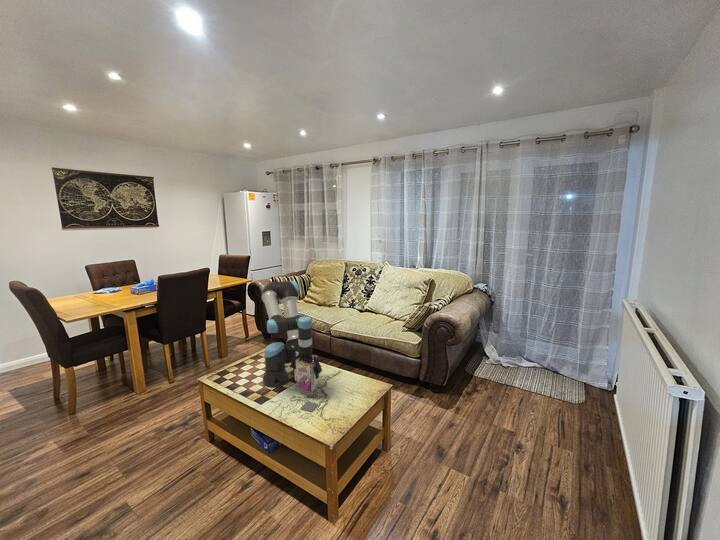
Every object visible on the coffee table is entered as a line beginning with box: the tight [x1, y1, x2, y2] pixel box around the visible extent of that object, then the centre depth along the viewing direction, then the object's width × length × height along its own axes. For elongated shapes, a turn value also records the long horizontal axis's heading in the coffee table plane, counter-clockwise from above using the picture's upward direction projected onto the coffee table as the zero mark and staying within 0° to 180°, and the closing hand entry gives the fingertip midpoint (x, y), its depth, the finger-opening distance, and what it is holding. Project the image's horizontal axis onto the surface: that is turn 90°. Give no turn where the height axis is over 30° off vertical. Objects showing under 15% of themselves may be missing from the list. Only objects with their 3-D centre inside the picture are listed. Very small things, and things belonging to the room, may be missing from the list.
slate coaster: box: [300, 400, 319, 413], centre depth 161 cm, size 7×7×1 cm
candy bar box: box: [295, 358, 317, 392], centre depth 170 cm, size 11×5×16 cm, turn 59°
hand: (306, 381), depth 171 cm, fingers closed on candy bar box, 12 cm apart
